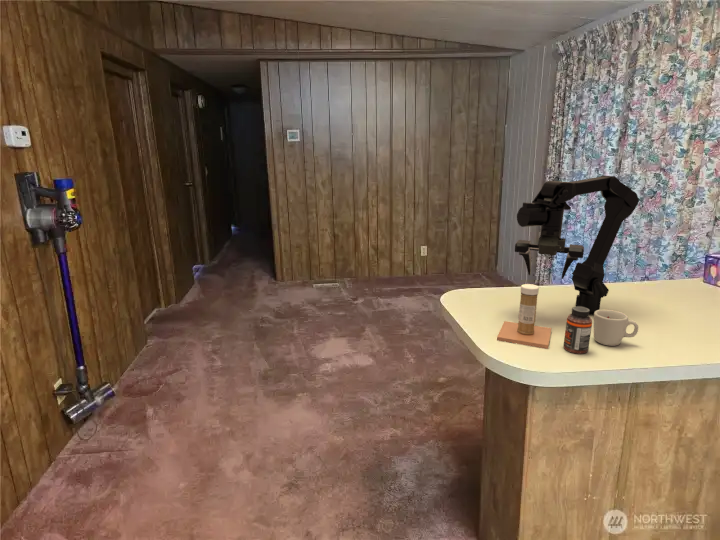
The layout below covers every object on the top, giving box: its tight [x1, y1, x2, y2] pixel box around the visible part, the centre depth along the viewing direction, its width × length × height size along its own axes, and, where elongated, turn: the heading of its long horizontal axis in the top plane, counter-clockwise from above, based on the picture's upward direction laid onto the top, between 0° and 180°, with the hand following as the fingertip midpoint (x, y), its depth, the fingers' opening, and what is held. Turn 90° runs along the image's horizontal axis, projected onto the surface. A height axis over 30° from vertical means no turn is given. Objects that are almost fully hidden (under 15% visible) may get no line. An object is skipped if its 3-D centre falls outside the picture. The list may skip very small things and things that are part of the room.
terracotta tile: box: [496, 320, 552, 350], centre depth 132 cm, size 13×13×1 cm
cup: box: [593, 309, 639, 347], centre depth 127 cm, size 11×8×8 cm
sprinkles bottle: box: [517, 283, 540, 335], centre depth 130 cm, size 5×5×13 cm
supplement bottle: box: [563, 306, 593, 355], centre depth 122 cm, size 6×6×11 cm
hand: (545, 276), depth 142 cm, fingers open, 9 cm apart
